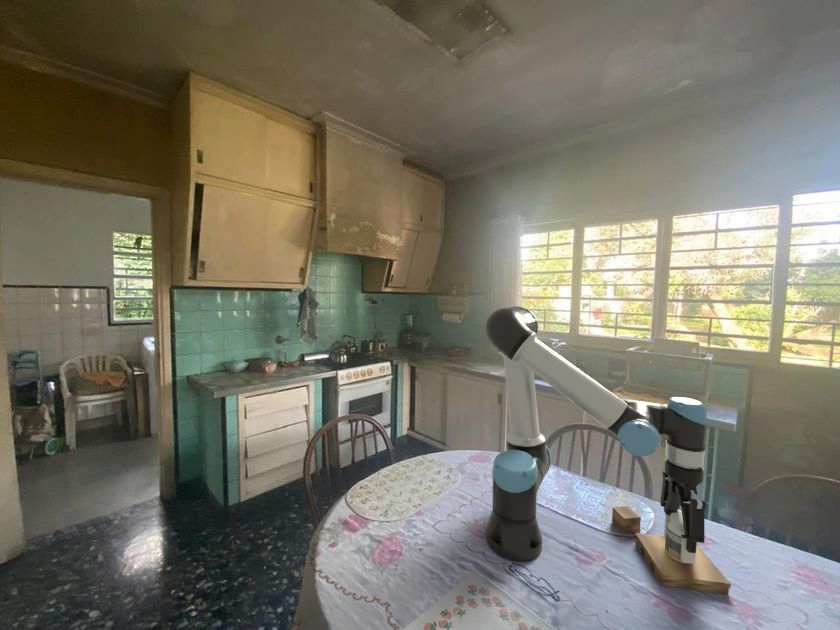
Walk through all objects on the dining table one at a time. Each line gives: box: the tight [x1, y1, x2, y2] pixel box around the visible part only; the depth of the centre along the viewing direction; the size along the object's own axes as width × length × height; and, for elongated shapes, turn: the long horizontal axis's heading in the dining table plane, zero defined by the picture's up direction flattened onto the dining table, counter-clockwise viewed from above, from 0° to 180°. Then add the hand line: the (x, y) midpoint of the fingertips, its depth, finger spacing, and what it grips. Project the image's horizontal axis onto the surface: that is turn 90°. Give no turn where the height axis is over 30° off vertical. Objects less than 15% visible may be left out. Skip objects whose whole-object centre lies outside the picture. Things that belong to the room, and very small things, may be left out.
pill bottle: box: [665, 512, 688, 564], centre depth 84 cm, size 6×6×10 cm
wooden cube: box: [611, 505, 642, 536], centre depth 99 cm, size 5×5×5 cm
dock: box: [634, 532, 732, 595], centre depth 85 cm, size 14×14×3 cm
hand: (678, 550), depth 84 cm, fingers open, 7 cm apart
